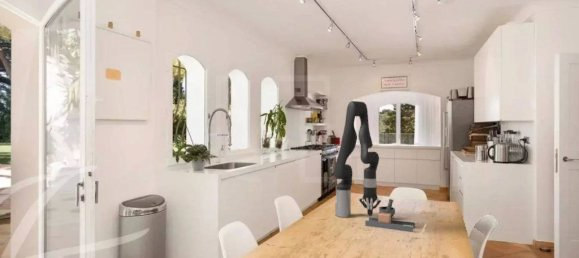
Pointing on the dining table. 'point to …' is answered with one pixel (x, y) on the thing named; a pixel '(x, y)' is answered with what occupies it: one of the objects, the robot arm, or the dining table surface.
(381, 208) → the mortar and pestle
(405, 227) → the chute
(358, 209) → the dining table surface
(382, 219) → the terracotta block
